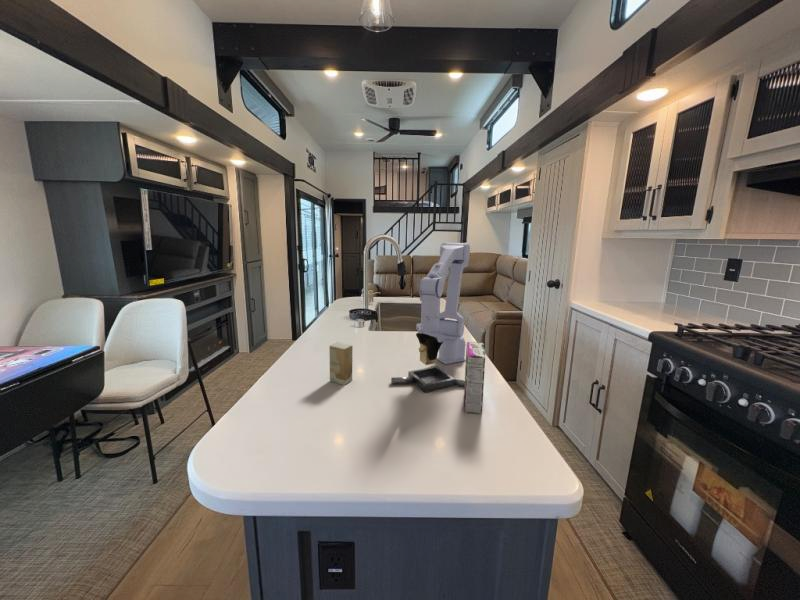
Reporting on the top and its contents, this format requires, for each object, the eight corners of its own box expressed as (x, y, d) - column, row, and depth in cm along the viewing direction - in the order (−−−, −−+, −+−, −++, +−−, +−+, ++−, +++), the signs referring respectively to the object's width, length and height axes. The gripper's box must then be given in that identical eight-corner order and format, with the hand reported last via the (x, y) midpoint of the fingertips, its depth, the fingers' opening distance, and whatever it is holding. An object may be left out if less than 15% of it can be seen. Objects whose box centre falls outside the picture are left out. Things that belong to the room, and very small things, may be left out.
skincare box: (329, 381, 103) (328, 345, 101) (337, 376, 107) (336, 341, 105) (345, 385, 100) (344, 348, 98) (353, 380, 104) (352, 344, 102)
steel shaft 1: (412, 381, 104) (412, 375, 103) (413, 384, 102) (413, 378, 101) (391, 382, 103) (391, 376, 103) (391, 385, 101) (391, 379, 101)
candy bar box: (463, 392, 97) (466, 341, 93) (480, 394, 96) (484, 342, 92) (463, 412, 86) (466, 355, 83) (482, 415, 85) (486, 356, 82)
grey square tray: (436, 372, 110) (436, 365, 110) (455, 386, 101) (455, 378, 100) (408, 378, 106) (408, 371, 105) (424, 393, 96) (425, 385, 96)
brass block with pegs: (433, 358, 106) (434, 340, 104) (440, 362, 102) (440, 344, 101) (416, 361, 103) (416, 343, 102) (422, 365, 99) (423, 347, 98)
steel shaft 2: (453, 386, 101) (453, 380, 100) (453, 383, 102) (454, 378, 102) (476, 389, 99) (476, 383, 98) (476, 386, 101) (476, 380, 100)
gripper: (408, 311, 104) (407, 351, 107) (431, 322, 91) (429, 367, 94) (427, 309, 107) (426, 348, 110) (451, 320, 94) (449, 363, 97)
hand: (429, 356), depth 102 cm, fingers closed on brass block with pegs, 4 cm apart
